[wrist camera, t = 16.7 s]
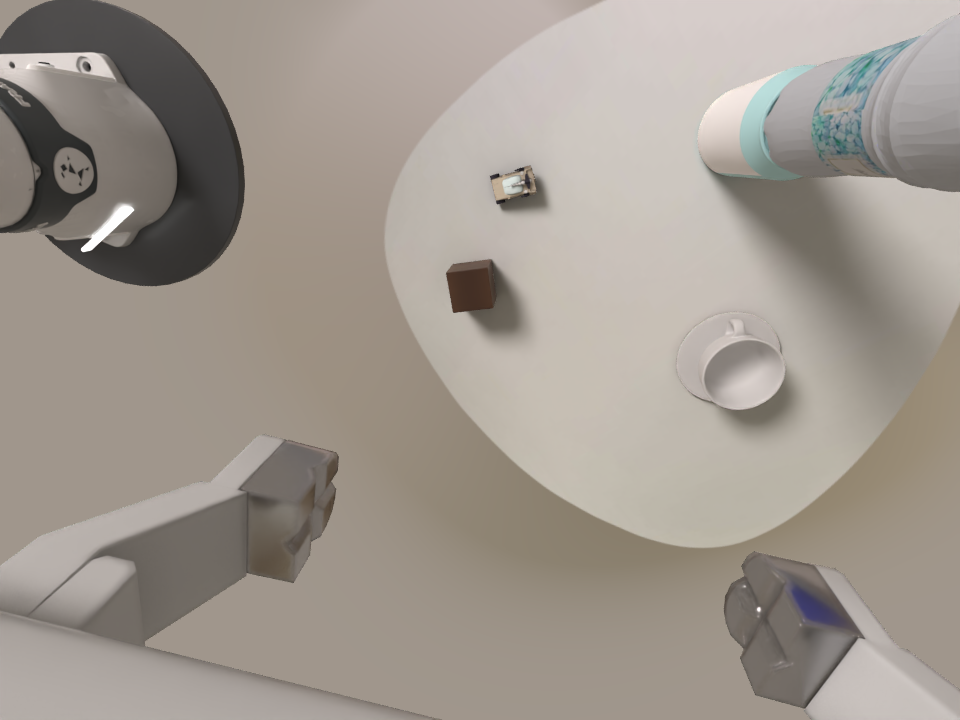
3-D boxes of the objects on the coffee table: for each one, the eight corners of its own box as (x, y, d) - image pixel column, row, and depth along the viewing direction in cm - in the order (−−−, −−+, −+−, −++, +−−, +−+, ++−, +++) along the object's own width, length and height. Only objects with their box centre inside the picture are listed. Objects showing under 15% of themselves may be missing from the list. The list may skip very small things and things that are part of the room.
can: (716, 76, 41) (783, 45, 30) (797, 99, 41) (893, 77, 30) (682, 163, 43) (731, 165, 32) (757, 185, 43) (831, 194, 32)
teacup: (776, 393, 51) (799, 415, 46) (677, 405, 52) (690, 427, 48) (778, 302, 47) (803, 316, 43) (672, 318, 49) (685, 334, 45)
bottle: (742, 180, 33) (1003, 207, 14) (761, 66, 30) (1110, -80, 12) (849, 178, 32) (1269, 203, 14) (878, 60, 29) (1445, -105, 11)
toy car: (490, 175, 46) (488, 176, 44) (532, 164, 45) (532, 164, 43) (497, 203, 46) (495, 205, 45) (538, 192, 46) (538, 194, 44)
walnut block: (459, 301, 51) (453, 312, 47) (452, 264, 49) (445, 272, 46) (496, 297, 50) (493, 308, 46) (491, 259, 49) (487, 267, 45)
